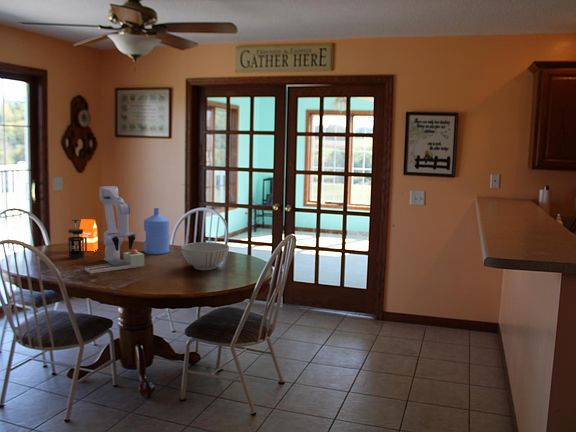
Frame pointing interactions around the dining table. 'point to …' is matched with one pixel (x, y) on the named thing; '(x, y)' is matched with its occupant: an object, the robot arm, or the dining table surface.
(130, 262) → the track
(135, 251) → the plunger
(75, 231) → the french press
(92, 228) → the orange juice
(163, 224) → the water jug
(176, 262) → the dining table surface
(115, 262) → the carriage
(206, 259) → the decorative bowl
